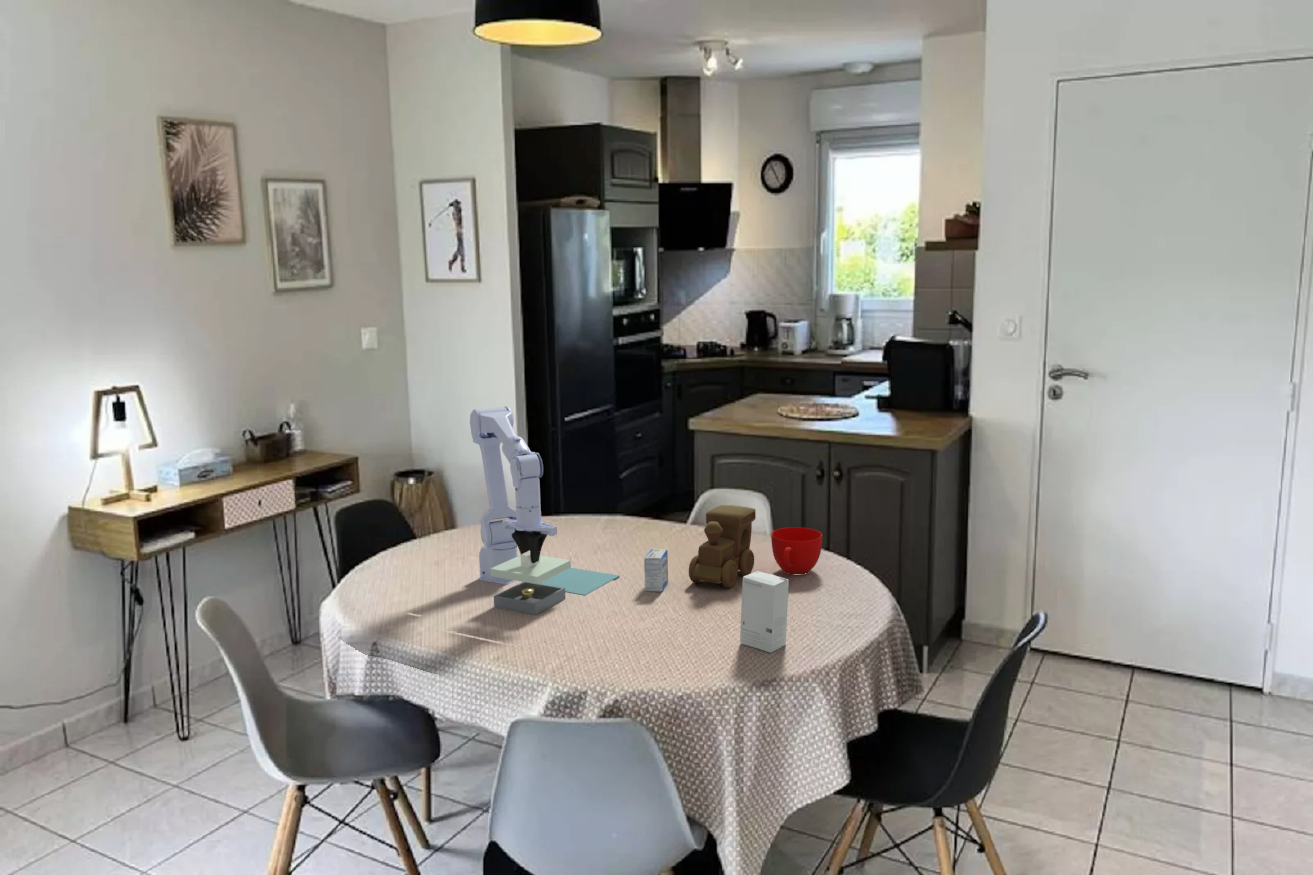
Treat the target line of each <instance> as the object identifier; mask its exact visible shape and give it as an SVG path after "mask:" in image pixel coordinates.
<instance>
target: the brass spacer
mask: <svg viewBox="0 0 1313 875" xmlns="http://www.w3.org/2000/svg"><path fill="white" fill-rule="evenodd" d="M521 593H522V599H524V600H527V599H529V598H534V589H533V588H524V589H522V590H521Z"/></svg>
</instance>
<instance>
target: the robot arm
mask: <svg viewBox="0 0 1313 875" xmlns="http://www.w3.org/2000/svg"><path fill="white" fill-rule="evenodd" d="M514 419H515V418H514V414H513V410H512V409H511V407H509V406H504V407H494V408H493V407H492V408H481V409H476V408H475V409H473V410H472V411H471V412H470V415H469V426H470V434H471V437H472V438H471V439H472V442H473V443H474V444H477V445H479V448H480V452H481V459H482V466H483V471H484V472H483V473H484V480H485V487H486V494H487V500H488V505H489V506H488V507H489V508H488V510H487V511H486V512H484V514H482V515H481V517H480V539H481V541H482V542H481V543H483V545H482V546H481V548H480V550H479V556H478V561H479V562H478V564H479V577H478V580H479V581H484V582H488V583H489V582H490V583H495V584H496V583H497V584H502V585H510V584H511V583H512V584H513V582H516V580H510V579H505V578H499V577H494V576H491V568H493V567H495V566H497V565H500V564H502V563H504V562H506V561H509V560H511V559H513V558H515V557H517V556H518V551H519V553H520V555H521V554H523V553H525V552H527V551H530V557H531V562H532V563H536V562H538V561H539V557H540V556H541V551H542V548H543V545H544V542H545V541H546V538H547V537H548V536H550V537H553V536H556V535H558V528H557V527H558V526H557V525H552V524H549V523H546V522H543V521H542V511H541V487H540V486H541V485H540V478H542V477H543V475H544V464H543V459H542V458H541V455H540V453H539V452H535V451H531V450H530V447H529V446H528V444H527V443H526V441H525V440H524V438H522V437H521V436H519V435H516V432H515V430H514V428H513V427H514ZM501 444H502V445H501ZM500 446H501V448H500ZM501 451H502V453H503V455H504V456H505V458H506V460H507V461H508V463H509V464H510V465H509V469H510V475H511V479H512V486H513V487H514V493H515V494H514V495H515V509H514V508H512V507H511V506H509V500H508V495H507V486H506V482H505V481H506V480H505V474H504V467H503V461H502V454H501ZM499 519H501V520H499Z"/></svg>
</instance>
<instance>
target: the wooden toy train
mask: <svg viewBox="0 0 1313 875" xmlns="http://www.w3.org/2000/svg"><path fill="white" fill-rule="evenodd" d="M756 514H757V513H756V508H752V507H748V506H742V505H741V506H740V505H731V504H729V505H728V504H723V505H722V504H721V505H719V506H716V507H714V508H712V509H710V510H708V511H707V512H706V513H705V524H706V526H705V527H704V530H703V532H704V534H705V536H706V538H707V541H704V542H702V544H701V545H700V546H698V553H697V555H694V556H693V557H692V558H691V560H690V561H689V562H690V563H689V565H688V576H689V579H690V581H691V582H692V583H694V584H697V583H700V582H702V581H703V582H707V583H708V582H709V583H714V584H720V583H721V585H722V586H723V587H724V588H726V589H730V588H732V587H733V586H734V585H735V583H736V582H737V579H738V571H739V572H740V574H741V575H742V576H743V577H744V576H746V575H749V574H751V573H753V572H752V571H753V570H754V567H755V566H754V565H755V554H754V552H753V550H752V549H750V547H751V542H752V541H751V540H752V530H753V528H752V524H753V523H752V522H754V521H755V520H756V518H757V517H756V516H757V515H756Z"/></svg>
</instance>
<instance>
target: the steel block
mask: <svg viewBox="0 0 1313 875" xmlns="http://www.w3.org/2000/svg"><path fill="white" fill-rule="evenodd" d="M525 601H528V602H533V603H535V602H537V601H539V600H538V599H533V598H529V599H527V600H525Z"/></svg>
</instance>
